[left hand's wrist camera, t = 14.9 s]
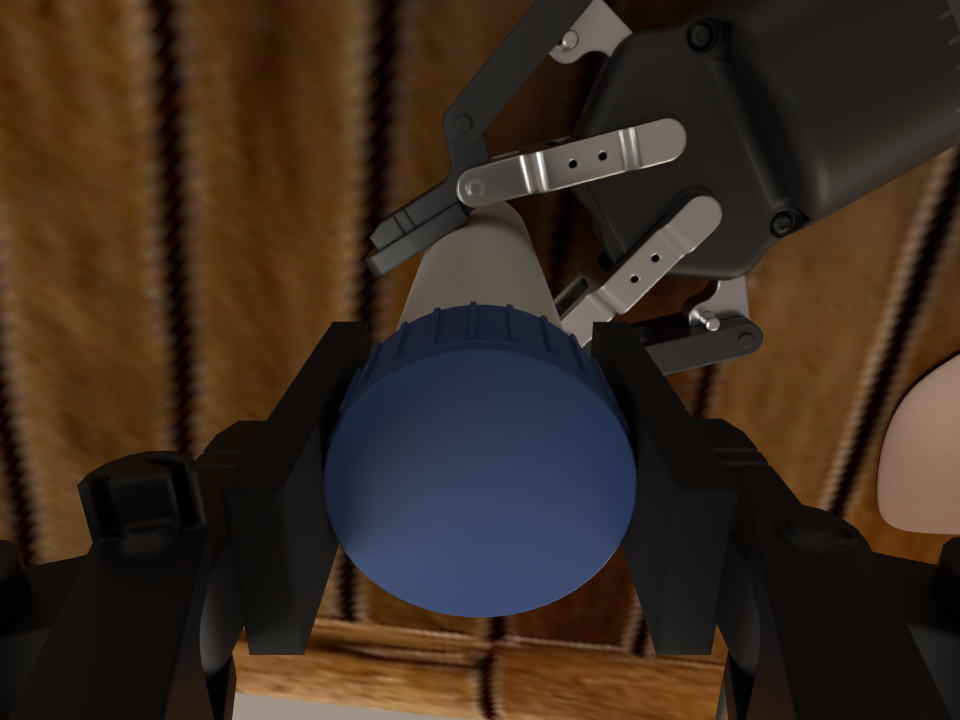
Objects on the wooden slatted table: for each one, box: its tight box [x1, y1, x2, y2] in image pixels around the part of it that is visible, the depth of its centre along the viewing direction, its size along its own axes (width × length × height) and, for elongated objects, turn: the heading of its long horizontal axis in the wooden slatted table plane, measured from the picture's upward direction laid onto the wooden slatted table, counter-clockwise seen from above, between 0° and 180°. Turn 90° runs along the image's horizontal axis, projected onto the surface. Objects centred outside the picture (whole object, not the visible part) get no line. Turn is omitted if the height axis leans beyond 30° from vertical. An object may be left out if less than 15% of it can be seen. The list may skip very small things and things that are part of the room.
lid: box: [323, 301, 637, 617], centre depth 11 cm, size 5×5×2 cm
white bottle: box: [395, 201, 565, 332], centre depth 19 cm, size 4×4×19 cm
